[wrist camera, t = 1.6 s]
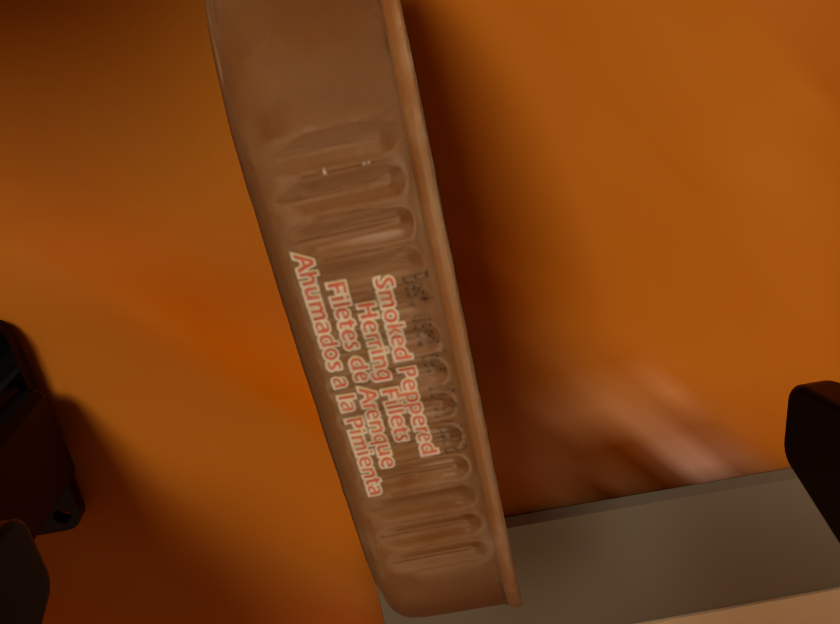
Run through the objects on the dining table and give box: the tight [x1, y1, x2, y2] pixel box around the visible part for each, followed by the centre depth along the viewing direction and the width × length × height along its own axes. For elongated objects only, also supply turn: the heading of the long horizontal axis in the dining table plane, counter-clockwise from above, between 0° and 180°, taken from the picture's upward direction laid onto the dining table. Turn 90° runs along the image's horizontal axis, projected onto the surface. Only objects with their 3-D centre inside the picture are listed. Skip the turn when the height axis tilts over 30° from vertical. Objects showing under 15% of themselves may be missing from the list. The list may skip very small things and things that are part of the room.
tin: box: [204, 0, 522, 618], centre depth 14 cm, size 15×3×8 cm, turn 12°
